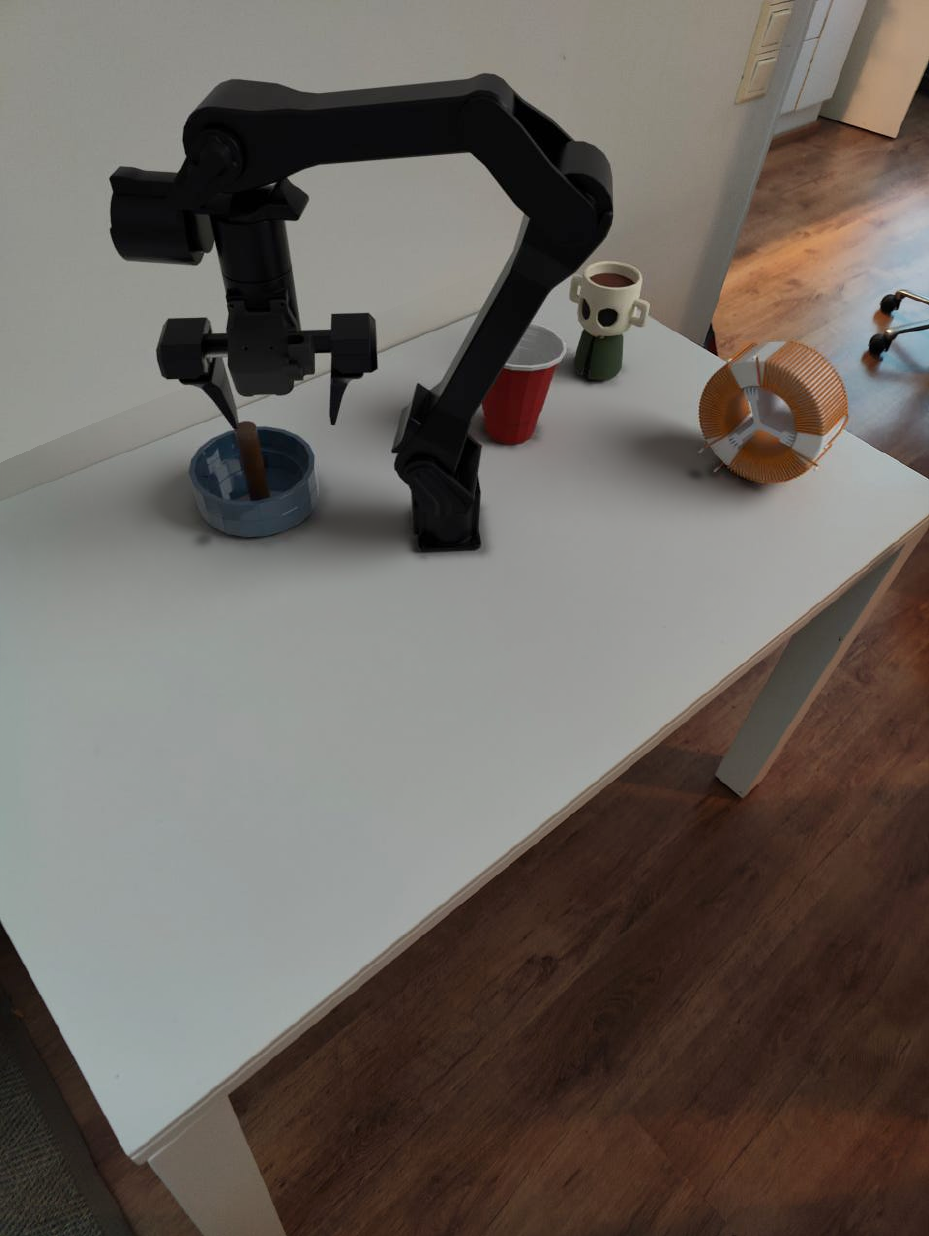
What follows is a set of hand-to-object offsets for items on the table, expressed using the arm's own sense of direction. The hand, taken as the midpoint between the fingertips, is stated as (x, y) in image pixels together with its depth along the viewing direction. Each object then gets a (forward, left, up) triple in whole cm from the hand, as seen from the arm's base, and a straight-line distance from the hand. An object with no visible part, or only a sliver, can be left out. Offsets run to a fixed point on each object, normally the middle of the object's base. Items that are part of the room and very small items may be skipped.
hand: (284, 424), depth 79 cm
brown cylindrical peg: (+4, -3, -11) cm, 12 cm away
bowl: (+4, -3, -12) cm, 13 cm away
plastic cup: (-25, -14, -12) cm, 31 cm away
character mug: (-38, -26, -12) cm, 47 cm away
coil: (-52, -5, -12) cm, 53 cm away
